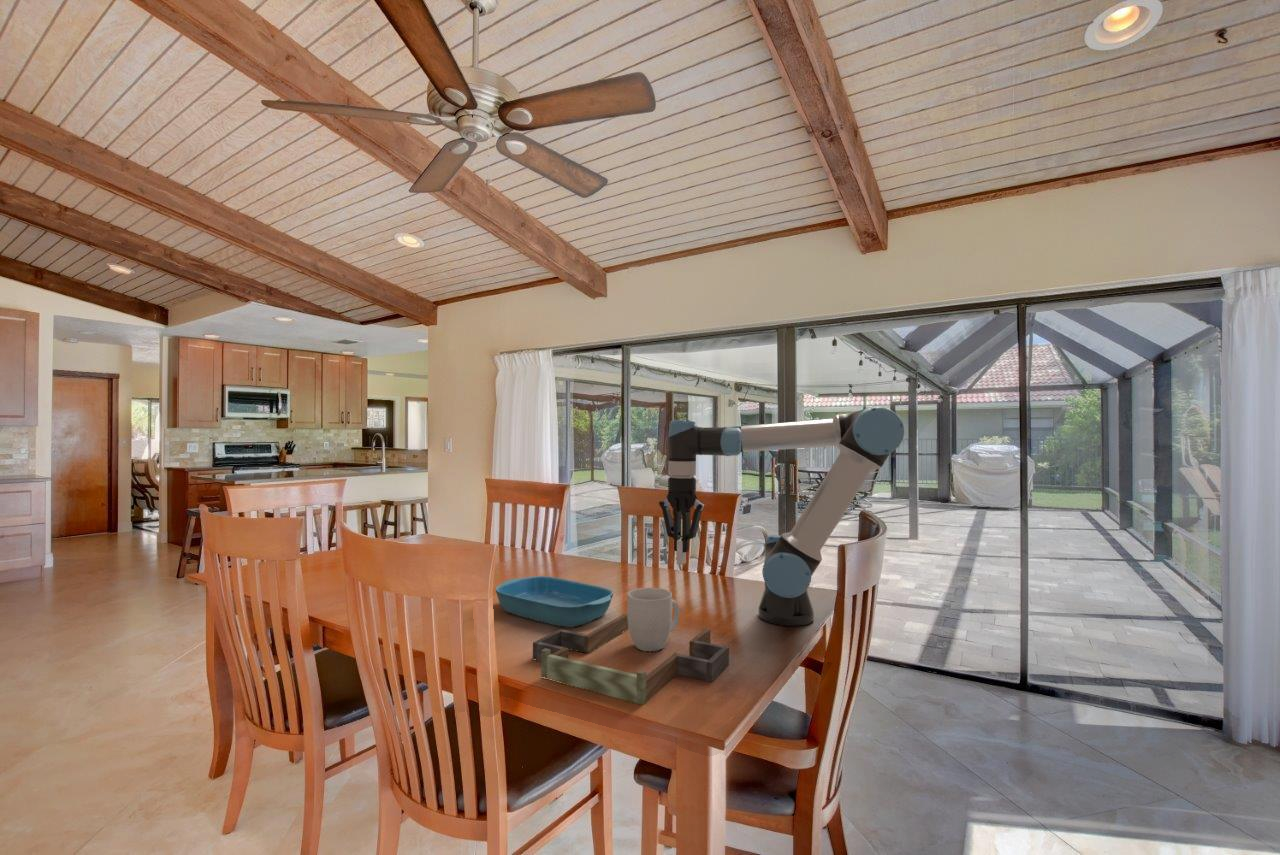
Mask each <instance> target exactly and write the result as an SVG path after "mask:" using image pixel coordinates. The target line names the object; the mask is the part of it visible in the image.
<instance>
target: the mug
mask: <svg viewBox="0 0 1280 855" xmlns="http://www.w3.org/2000/svg"><path fill="white" fill-rule="evenodd" d="M626 603H627V604H626V609H627V611H626V612H627V613H626V614H627V615H628V616H627V618H628V632H629V635H630V638H631V641H632V643H633V644H634V646H635V647H636V648H637V649H638V650H639V649H640V650H639V651H641V650H642V651H643V652H646V651H649V652H648V653H651V651H653V652H658V651H661V650H662V649H663V648H665V645H666V644H667V642H668V641H669V640H668V639H669V637H670V633H672V631H674V630H675V629H676V627H677V625H678V623H679V620H680V612H681V611H680V607H679V603H677V601H676V600H675V599H673V593H672V592H671V591H670V590H668V589H665V588H660V587H640V588H639V587H638V588H635V589H632V590H630V591H628V592H627V602H626ZM673 611H674V612H673ZM660 649H661V650H660ZM642 651H641V652H642Z"/></svg>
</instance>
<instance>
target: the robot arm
mask: <svg viewBox="0 0 1280 855" xmlns="http://www.w3.org/2000/svg"><path fill="white" fill-rule="evenodd" d="M668 426H669V427H668V436H667V439H668V464H667V465H668V468H667V471H668V472H667V475H668V476H669V477H668V478H667V481H668V482H667V489H668V493H667V495H666V498H665V499H664V500H661V501H659V503H658V504H659V507H660V509H661V510H662V514H663V515H662V516H663V519H664V524H665V530H666V534H667V536H668V537H669V538H672V539H673V551H674V552H676V566H677V565H678V566H683V565H685V564H686V563H687V553H688V552H689V550H690V540H693V539H694V538H696V537H697V533H698V528H699V524H700V520H701V517H702V516H701V515H702V511H704V509H705V508H706V504H705V503H704V502H703V503H702V502H700V500H698V496H697V493H696V492H697V478H696V477H695V476H696V475H697V455H698V456H722V457H723V456H725V457H731V456H732V457H733V456H734V457H735V456H739V455H740V454H741V453H746V452H747V453H748V452H749V453H751V452H762V451H764V452H765V451H780V450H795V449H796V450H797V449H811V448H823V447H824V448H825V447H826V448H827V447H828V448H829V447H836V448H837V449H838V450H839V454H838V456H837V457H836V459H835V460H834V462H833V464H832V466H831V467H830V468H829V470H828V472H827V473H826V475H825V476H824V478H823V480H822V481H821V483H820V484H819V486H818V487H817V489H816V491H815V492H814V493H813V496H812V497H811V499H810V500H809V502H808V504H807V505H806V507H805V509H804V510H803V511H802V513H801V515H800V516H799V518H798V519H797V521H796V522H795V524H794V525H793V527H792V529H791V531H787V532H784V533H781V535H775V534H774V535H767V536H766V537H765V540H764V544H763V545H764V560H763V565H762V570H761V571H762V573H761V574H762V578H763V580H764V590H763V594H762V596H761V600H760V602H759V605H758V617H759V619H761V620H762V619H763V620H762V621H764V620H765V621H764V622H766V621H767V622H766V623H769V622H770V624H772V623H774V624H773V625H777V624H779V625H780V626H784V625H786V627H799V626H800V625H801V626H806V625H809V624H811V622H812V621H813V620H815V619H814V618H815V614H814V613H815V612H814V608H813V605H812V602H811V599H810V596H809V592H808V589H809V587H810V585H811V582H812V576H813V575H814V573H815V571H816V570H817V569H818V567H819V566H820V564H821V563H822V560H823V557H822V553H821V550H822V549H823V547H824V546H825V545H826V543H827V541H828V539H829V537H830V536H831V534H832V533H833V532H834V530H835V529H836V527H837V525H838V523H839V522H840V521H841V519H842V517H843V516H844V514H845V513H846V511H847V510H848V508H849V507H850V505H851V503H852V502H853V500H854V498H856V496H857V494H858V493H859V491H860V489H861V488H862V487H863V484H864V483H865V482H866V481H867V479H868V478H869V475H870V474H871V472H872V471H875V470H880V469H881V468H882V467H883V465H884V464H885V463H886V461H887V460H888V458H889V456H890V455H891V453H893V452H894V451H896V450H897V448H899V447H900V446H901V444H902V442H903V440H904V435H905V426H904V423H903V420H902V418H901V417H900V416H899V415H898V414H897V413H896V412H895V411H894V410H892V409H890V408H888V407H885V406H881V405H872V406H867V407H866V408H864V409H863V408H862V409H861V410H857V411H854V412H849V413H848V412H847V413H842V414H836V415H834V417H833V418H825V419H814V420H813V419H811V420H801V421H787V422H777V423H762V424H749V425H739V426H724V427H723V426H722V427H721V426H720V427H717V426H716V427H715V426H714V427H702V426H701V427H700V426H698V425H697V421H696V420H695V419H673V420H671V421H670V422H669V425H668ZM670 506H671V508H672V512H671V508H670ZM693 507H694V512H693V516H692V519H691V513H692V512H691V510H692V508H693ZM672 514H673V516H672ZM813 622H814V621H813ZM813 622H812V623H813ZM779 625H778V626H779Z"/></svg>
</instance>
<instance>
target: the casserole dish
mask: <svg viewBox="0 0 1280 855" xmlns="http://www.w3.org/2000/svg"><path fill="white" fill-rule="evenodd" d="M495 593H496V595H497V596H496V597H497V598H498V603H499V605H500V607H501V608H502V609H503V610H504V611H506V612H507V613H508V614H511V613H512V615H514V614H515V616H517V615H518V617H521V616H522V618H525V617H526V619H528V618H529V620H532V619H533V620H534V621H536V620H537V621H536V622H539V621H541V622H540V623H543V622H545V623H544V624H547V623H549V624H548V625H551V624H553V625H552V626H555V625H558V626H557V627H560V626H565V627H564V628H574V627H573V626H578V627H580V626H579V625H581V626H583V625H586V624H588V623H590V622H593V621H594V619H595V620H596V618H597V619H599V618H600V616H601V617H602V616H604V615H605V614H606V613H607V611H608V609H609V607H610V605H611V602H612V599H613V596H614V591H613V590H612V589H610V588H606V587H604V586H600V585H599V586H598V585H594V584H590V583H584V582H579V581H574V580H569V579H565V578H560V577H555V576H548V575H546V576H545V575H544V576H543V575H537V576H536V575H535V576H528V577H518V578H512V579H509V580H506V581H504V582H502V583H501V584H500V585H498V586H496V587H495ZM592 620H593V621H592ZM587 622H588V623H587ZM585 623H586V624H585ZM582 624H583V625H582Z"/></svg>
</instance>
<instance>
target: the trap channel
mask: <svg viewBox="0 0 1280 855" xmlns="http://www.w3.org/2000/svg"><path fill="white" fill-rule="evenodd" d="M627 616H628V615H627V613H623V614H622V615H619V616H618V617H616V618H614V619H612V620H610V621H609V622H607V623H605V624H603V625H602V626H600V627H598V628H596V629H595V630H593V631H591V632H589V633H588V634H586V633H581V632H576V631H571V630H567V629H566V630H565V629H561V628H560V629H559V628H558V629H557V630H555V631H553V632H552V633H551V632H550V633H549V634H547V635H545V636H543V637H542V638H540V639H537V640H535V641H534V642H532V660H533V659H536V660H540V661H541V662H540V664H541V665H540V666H541V667H540V668H541V669H540V670H541V671H540V672H541V673H540V676H541V677H545V678H548V679H552V680H555V681H559V682H562V683H565V684H568V685H567V686H569V685H572V686H571V687H573V686H575V687H574V688H577V687H579V688H578V689H580V688H583V689H582V690H584V689H586V691H588V690H590V691H589V692H592V691H593V693H596V692H597V693H596V694H600V693H601V694H600V695H603V694H604V696H607V697H612V698H616V699H620V700H623V701H627V702H632V703H635V704H637V705H641V706H643V705H645V704H646V703H647V702H648V701H649V700H650V699H651V698H652V697H653V696H654V695H655V694H657V693H658V692H659V691H660V690H661V689H663V687H664V686H666V685H667V684H668V683H669V682H670V681H672V679H674V678H675V677H676V676H677V675H679V676H683V677H688V678H692V679H696V680H702V681H705V682H708V683H709V682H710V683H712V682H714V681H715V680H716V678H718V677H719V675H720V674H722V672H724V671H725V669H726V668H727V667H728V666H729V665H730V647H729V646H727V645H721V644H716V643H711V629H710V628H704V629H702V630H701V631H700V632H699V633H698V634H697V635H695V636H694V637H693V638H692V639H691V640H689V642H688V643H689V644H688V645H689V646H688V649H689V654H688V655H686V654H681V653H677V652H673V654H671V655H670V656H669V657H668V658H666V659H665V660H664V661H663V662H662V663H660V664H659V665H658V666H656V667H655V668H653V669H652V670H651V671H650V672H649V673H647V671H646V670H642V669H639V670H638V671H637V672H636V673H632V672H628V671H623V670H620V669H615V668H611V667H608V666H602V665H597V664H593V663H590V662H585V661H582V660H577V659H572V658H569V656H570V655H569V651H570V650H569V649H572V650H571V651H573V650H578V651H582V652H586V653H589V654H591V653H592V652H591V651H593V650H594V649H596V648H597V649H599V648H600V647H599V646H601V645H602V646H604V645H605V644H604V643H606V642H607V643H609V642H610V641H609V640H611V639H612V640H614V639H615V638H617V637H618V636H617V635H619V634H620V633H622V632H623V631H625V630H627V629H628V630H629V627H628V618H627ZM628 630H627V631H628ZM625 632H626V631H625ZM622 634H623V633H622ZM620 635H621V634H620ZM620 635H619V636H620ZM616 636H617V637H616ZM614 637H615V638H614ZM613 638H614V639H613ZM612 640H611V641H612ZM608 641H609V642H608ZM607 643H606V644H607ZM603 644H604V645H603ZM602 646H601V647H602ZM598 647H599V648H598ZM597 649H596V650H597ZM594 651H595V650H594ZM594 651H593V652H594ZM582 652H581V653H582ZM590 652H591V653H590ZM586 653H585V654H586ZM565 684H564V685H565Z"/></svg>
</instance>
